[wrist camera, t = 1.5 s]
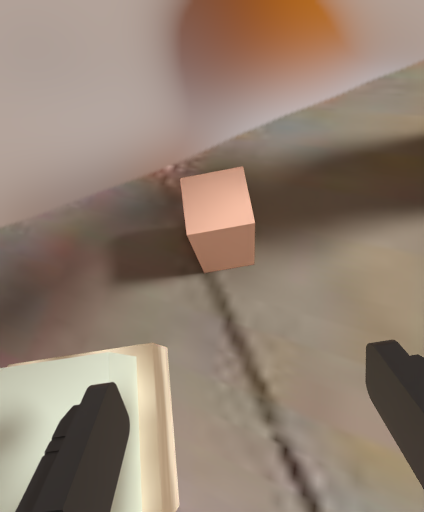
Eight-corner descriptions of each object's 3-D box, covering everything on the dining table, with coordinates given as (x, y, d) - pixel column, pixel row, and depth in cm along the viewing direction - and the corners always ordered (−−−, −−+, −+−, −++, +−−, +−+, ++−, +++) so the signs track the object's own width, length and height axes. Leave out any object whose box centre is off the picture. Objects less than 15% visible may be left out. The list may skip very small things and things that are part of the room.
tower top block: (136, 356, 24) (108, 351, 20) (142, 514, 21) (110, 554, 16) (14, 374, 25) (-40, 374, 20) (-1, 530, 21) (-72, 573, 17)
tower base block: (168, 347, 29) (152, 342, 24) (180, 503, 25) (163, 533, 20) (45, 366, 30) (8, 364, 25) (36, 520, 25) (-12, 553, 21)
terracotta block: (245, 219, 33) (242, 166, 24) (254, 264, 31) (255, 222, 22) (198, 228, 33) (179, 178, 24) (204, 273, 31) (186, 235, 23)
